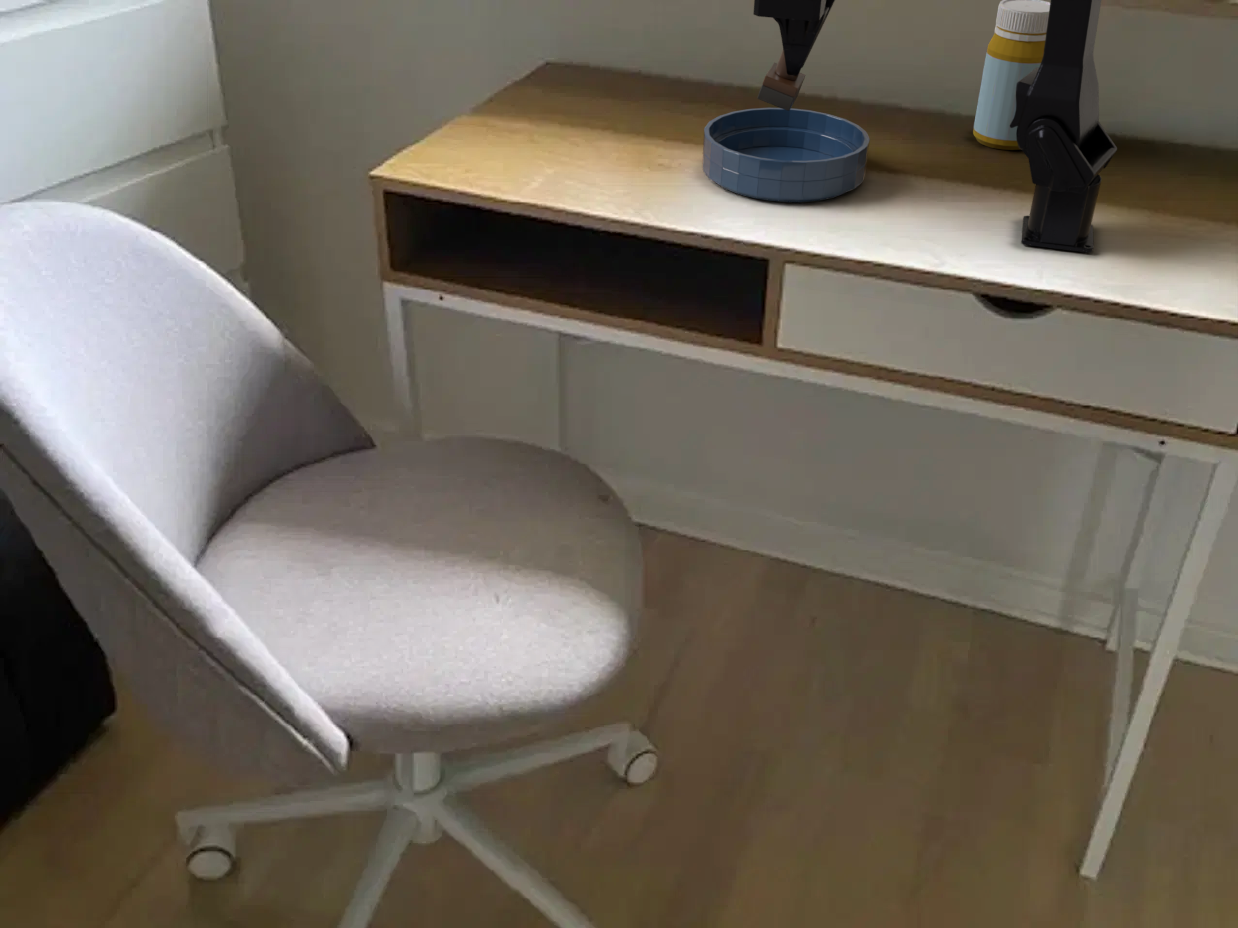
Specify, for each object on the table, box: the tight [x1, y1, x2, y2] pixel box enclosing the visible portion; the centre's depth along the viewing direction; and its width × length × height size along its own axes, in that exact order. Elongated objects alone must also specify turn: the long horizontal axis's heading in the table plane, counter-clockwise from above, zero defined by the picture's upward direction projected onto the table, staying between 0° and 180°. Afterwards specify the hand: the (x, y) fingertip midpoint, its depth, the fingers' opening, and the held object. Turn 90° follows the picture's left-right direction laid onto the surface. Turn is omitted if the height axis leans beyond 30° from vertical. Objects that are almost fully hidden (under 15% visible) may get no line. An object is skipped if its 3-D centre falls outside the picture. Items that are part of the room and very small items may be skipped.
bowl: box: [701, 107, 871, 203], centre depth 136 cm, size 17×17×4 cm
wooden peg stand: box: [756, 49, 806, 111], centre depth 130 cm, size 5×4×10 cm
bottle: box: [972, 0, 1051, 151], centre depth 144 cm, size 7×7×15 cm
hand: (794, 71), depth 131 cm, fingers closed on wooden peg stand, 2 cm apart
